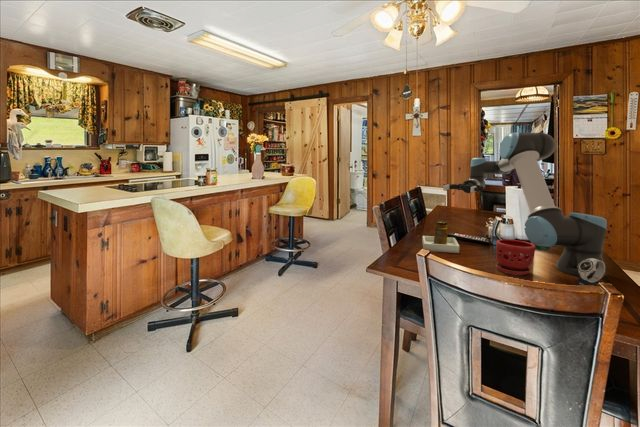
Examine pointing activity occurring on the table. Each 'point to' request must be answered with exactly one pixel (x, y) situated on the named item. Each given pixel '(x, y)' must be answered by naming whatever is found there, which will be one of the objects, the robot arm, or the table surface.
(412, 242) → the table surface
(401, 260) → the table surface
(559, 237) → the robot arm
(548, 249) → the canned tomato
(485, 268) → the table surface
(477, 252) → the table surface
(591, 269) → the watch
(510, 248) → the plant pot
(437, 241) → the condiment
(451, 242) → the pale green square tray
